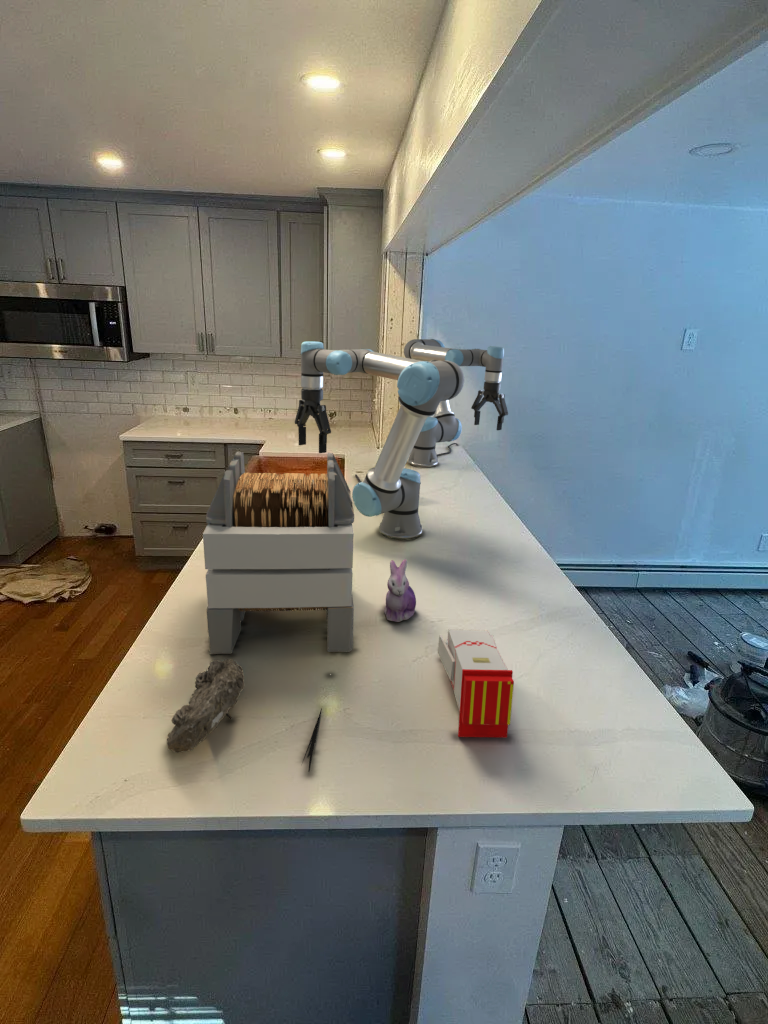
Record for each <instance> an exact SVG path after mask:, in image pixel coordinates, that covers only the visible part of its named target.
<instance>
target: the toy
mask: <svg viewBox="0 0 768 1024" xmlns="http://www.w3.org/2000/svg"><path fill="white" fill-rule="evenodd" d="M446 640H447V643H446V641H445V639H444V636H443V635H442V634H439V637H438V646H437V656H438V657H439V659H440V661H441V663H442V666H443V668H444V670H445V672H446V674H447V677H448V679H449V681H450V684H451V687H452V690H453V693H454V697H455V701H456V705H457V708H458V711H459V714H458V715H459V716H458V730H457V731H458V732H457V737H458V738H508V731H509V726H510V725H511V717H512V707H513V697H514V696H513V695H514V684H515V680H514V679H513V673H514V671H513V670H512V669H508V667H507V665H506V662H505V661H504V659H503V658H502V655H501V653H500V651H499V649H498V647H497V643H496V639H495V637H494V635H493V634H491V632H490V631H489V629H467V628H466V629H465V628H463V629H461V628H460V629H459V628H448V630H447V639H446Z"/></svg>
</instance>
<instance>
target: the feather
mask: <svg viewBox="0 0 768 1024" xmlns="http://www.w3.org/2000/svg"><path fill="white" fill-rule="evenodd" d="M329 675H330V676H331V675H332V674H331V673H330V674H329ZM322 710H323V707H321V708H320V710H319V713H318V716H317V719H316V723H315V725H314V728H313V731H312V733H311V737H310V739H309V742H308V745H307V748H306V751H305V754H304V757H303V760H302V763H301V767H302V765H303V763H304V761H305V758H308V759H309V760H308V762H307V763H308V764H307V766H308V771H310V770H311V766H312V765H311V764H312V760H313V757H315V756H314V755H315V751H316V749H315V746H317V739H318V733H319V729H320V722H321V717H322V712H323V711H322ZM313 754H314V755H313ZM306 755H307V757H306Z"/></svg>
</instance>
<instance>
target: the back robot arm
mask: <svg viewBox="0 0 768 1024" xmlns="http://www.w3.org/2000/svg"><path fill="white" fill-rule="evenodd" d="M403 355H404V358H410V359H415V360H420V361H427V362H430V361H431V360H439V361H451V362H454V363H456V364H457V365H458V366H459V367H482V368H485V370H484V380H483V389H481V390H478V391H477V395H476V397H475V399H474V401H473V403H472V405H471V408H470V409H472V410H473V411H474V412H473V418H474V423H473V425H474V426H479V425H480V419H481V409H482V407H484V405H485V404H486V403H492V404H493V406H494V407H495V409H496V411H497V413H498V416H497V420H496V421H497V423H496V431H502V429H503V424H504V421H505V416H509V411H508V407H507V403H506V399H505V397H506V396H505V394H504V393H500V390H501V384H502V383H501V382H502V375H503V365H504V360H505V359H504V358H505V348H504V347H502V346H494V345H493V346H491V345H489V346H488V347H487V349H481V348H470V349H469V348H468V349H465V348H464V349H461V348H460V349H459V348H453V347H446V345H445V344H444V343H443V342H442V341H441V339H435V338H422V339H421V338H414V339H410V340H408V341H407V342H406V344H404V347H403ZM449 401H450V400H446V401H441V402H440V403H439V405H438V407H437V409H436V412H435V414H434V415H433V416H430V417H427V419H426V421H425V423H424V425H423V427H422V430H421V432H420V434H419V436H418V438H417V441H416V443H415V445H414V447H413V449H412V451H411V454H410V456H409V458H408V460H407V463H408V465H410V466H413V467H417V468H433V467H437V466H438V465H439V460H438V459H439V458H438V457H439V456H442V455H443V456H445V455H449V454H450V453H451V452H452V449H451V447H452V446H454V445H456V446H459V444H458V443H457V442H453V441H457V440H458V439H459V438H460V437H461V435H462V430H463V424H462V422H461V420H460V419H459V418H457V417H456V416H455V415H456V414H455V413H454V412H453V411H452V410H451V407H450V402H449ZM446 442H447V443H450V442H452V443H450V444H448V445H447V448H448V450H449V451H447V452H441V453H438V454H437V450H436V445H437V443H446Z"/></svg>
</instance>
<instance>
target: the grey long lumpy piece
mask: <svg viewBox="0 0 768 1024" xmlns="http://www.w3.org/2000/svg"><path fill="white" fill-rule="evenodd" d="M243 670H244V669H243V667H242V665H240V664H237V662H236V661H235V660H234V659H232V658H231V659H227V658H226V659H224V660H223V661H222V660H217V659H212V660H211V661H210V663H209V665H208V666H207V671H201V672H199V673H198V674H197V675H196V676H195V680H194V684H195V685H194V687H195V689H194V690H193V693H192V694H191V697H190V698H189V700H188V704H184V705H182V706H181V707H180V709H177V710H176V711H175V713H174V715H173V716H172V718H171V723H172V724H173V727H172V730H171V731H170V732H168V734H167V738H166V741H167V742H166V745H167V749H168V750H169V751H173V752H174V753H176V754H178V753H182V752H188V751H189V752H192V751H193V750H195V748H196V747H197V746H199V744H200V743H201V742H203V741H204V740H205V739H206V738H207V737H208V736H209V735H210V734H211V733H212V732H214V730H215V729H217V727H218V726H219V724H220V722H221V721H222V720H223V719H224V718H225V716H226V717H227V719H229V720H233V717H232V715H230V714H229V710H230V709H231V708H234V706H235V704H236V703H237V702H238V699H239V697H240V695H241V693H242V691H243V690H245V689H244V688H245V675H244V671H243Z"/></svg>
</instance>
